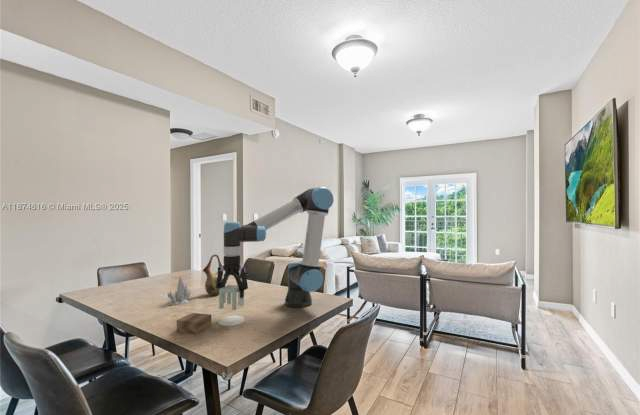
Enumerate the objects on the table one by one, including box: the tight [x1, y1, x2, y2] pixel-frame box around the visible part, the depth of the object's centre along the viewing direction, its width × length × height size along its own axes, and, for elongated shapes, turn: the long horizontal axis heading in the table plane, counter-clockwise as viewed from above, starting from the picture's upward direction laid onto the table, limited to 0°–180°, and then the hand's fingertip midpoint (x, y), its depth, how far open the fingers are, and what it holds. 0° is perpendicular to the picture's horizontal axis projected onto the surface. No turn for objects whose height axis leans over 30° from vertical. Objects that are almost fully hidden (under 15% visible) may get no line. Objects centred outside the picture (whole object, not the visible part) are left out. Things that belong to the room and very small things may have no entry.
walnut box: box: [176, 312, 212, 335], centre depth 134 cm, size 10×10×5 cm
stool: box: [218, 284, 245, 311], centre depth 143 cm, size 8×8×9 cm
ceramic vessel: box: [202, 253, 224, 297], centre depth 189 cm, size 16×9×25 cm, turn 147°
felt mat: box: [217, 315, 246, 327], centre depth 143 cm, size 12×12×1 cm
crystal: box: [167, 275, 191, 306], centre depth 173 cm, size 10×13×15 cm
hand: (231, 304), depth 143 cm, fingers closed on stool, 8 cm apart
